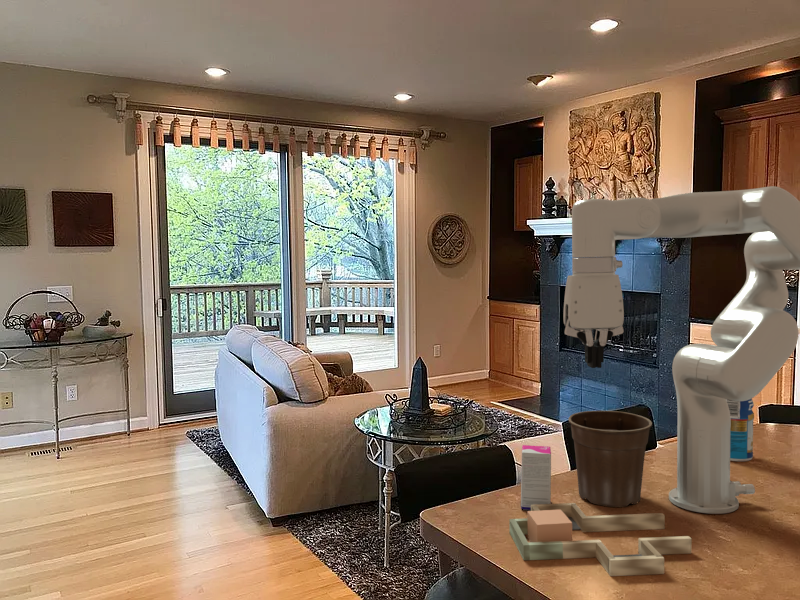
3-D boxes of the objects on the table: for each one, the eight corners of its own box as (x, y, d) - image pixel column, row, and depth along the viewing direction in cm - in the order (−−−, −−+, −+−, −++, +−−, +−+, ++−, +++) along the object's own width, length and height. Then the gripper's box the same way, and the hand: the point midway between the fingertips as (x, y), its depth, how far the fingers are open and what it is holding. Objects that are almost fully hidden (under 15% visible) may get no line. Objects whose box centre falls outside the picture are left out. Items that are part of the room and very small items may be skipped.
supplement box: (551, 511, 128) (551, 453, 128) (520, 510, 130) (520, 452, 129) (550, 501, 134) (550, 445, 133) (521, 499, 135) (520, 444, 135)
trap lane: (647, 512, 127) (647, 500, 127) (711, 571, 103) (711, 556, 103) (502, 518, 126) (502, 505, 125) (533, 579, 102) (533, 563, 101)
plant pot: (659, 514, 126) (659, 430, 125) (572, 510, 129) (571, 428, 128) (643, 485, 142) (643, 411, 141) (566, 482, 145) (565, 409, 144)
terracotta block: (560, 537, 117) (560, 509, 117) (572, 551, 111) (572, 522, 111) (527, 538, 117) (527, 511, 116) (537, 553, 111) (537, 524, 110)
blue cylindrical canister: (706, 454, 163) (707, 373, 162) (734, 450, 166) (735, 371, 164) (733, 464, 155) (734, 379, 154) (761, 460, 157) (763, 376, 156)
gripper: (625, 266, 125) (625, 362, 126) (547, 268, 125) (548, 364, 126) (642, 266, 118) (642, 368, 119) (559, 268, 117) (560, 371, 118)
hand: (594, 366), depth 122 cm, fingers closed
